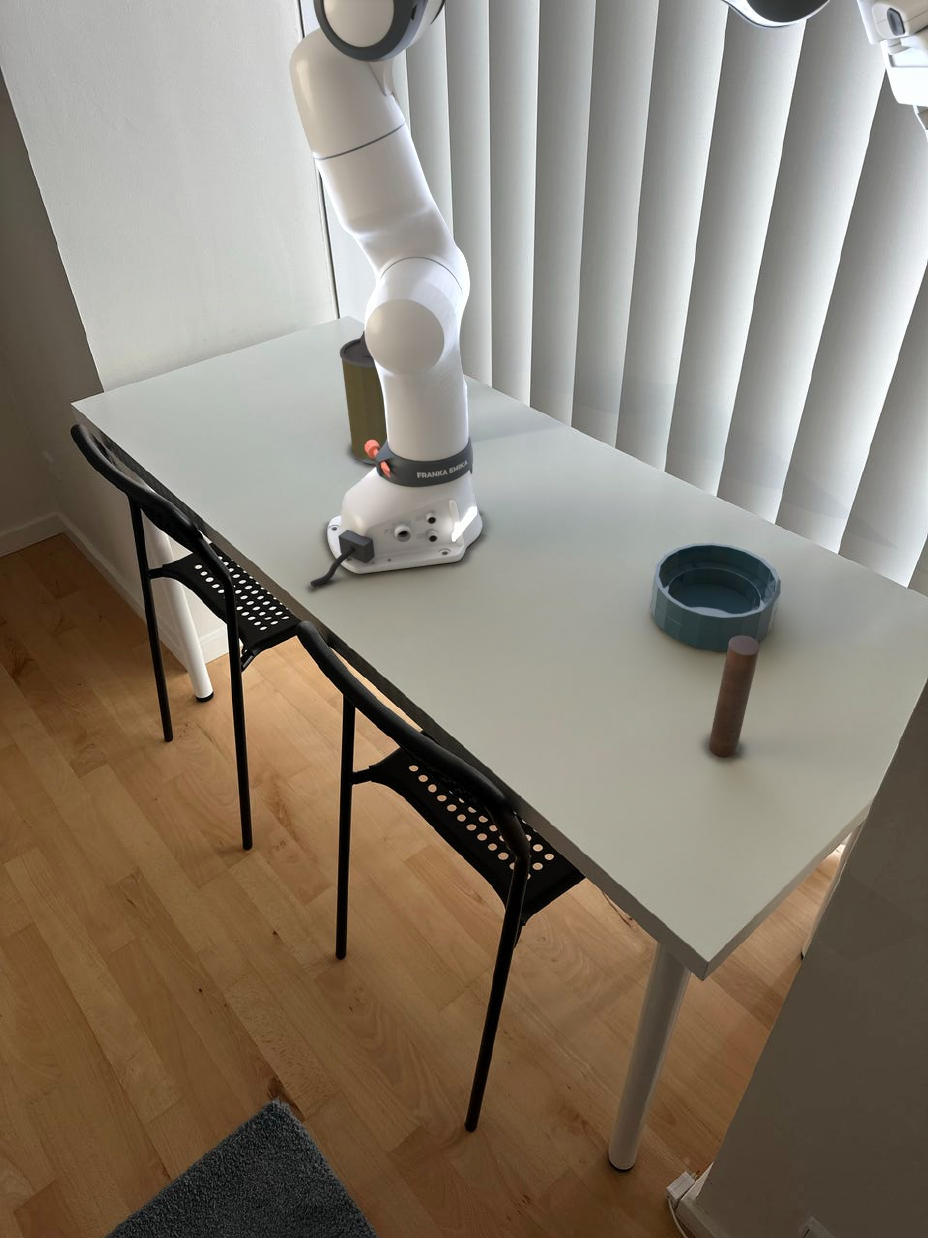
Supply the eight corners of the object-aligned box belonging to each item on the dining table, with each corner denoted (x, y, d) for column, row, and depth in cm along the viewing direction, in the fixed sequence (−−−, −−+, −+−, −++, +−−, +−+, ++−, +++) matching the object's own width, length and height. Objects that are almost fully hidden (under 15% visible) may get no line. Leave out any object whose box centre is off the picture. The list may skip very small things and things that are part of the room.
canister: (406, 467, 152) (397, 348, 139) (344, 463, 153) (329, 345, 141) (420, 434, 160) (413, 319, 147) (361, 430, 162) (348, 316, 149)
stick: (718, 761, 102) (740, 658, 93) (703, 742, 105) (723, 639, 95) (742, 753, 103) (766, 650, 94) (726, 734, 105) (748, 632, 96)
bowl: (690, 668, 114) (696, 630, 110) (629, 596, 125) (632, 559, 121) (796, 636, 118) (806, 598, 114) (728, 568, 129) (735, 532, 125)
